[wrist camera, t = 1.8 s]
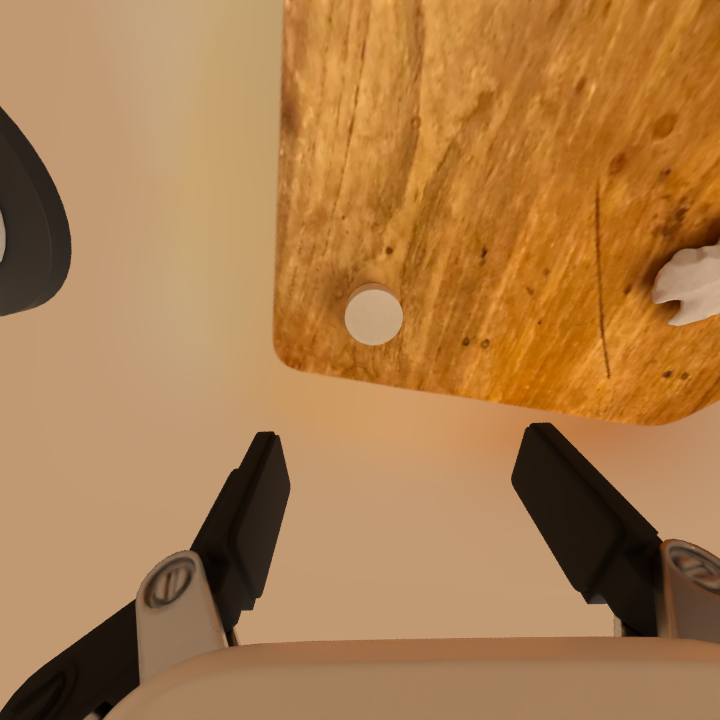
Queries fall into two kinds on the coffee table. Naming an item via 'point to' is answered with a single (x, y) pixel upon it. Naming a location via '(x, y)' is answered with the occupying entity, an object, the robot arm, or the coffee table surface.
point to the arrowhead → (691, 284)
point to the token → (373, 314)
